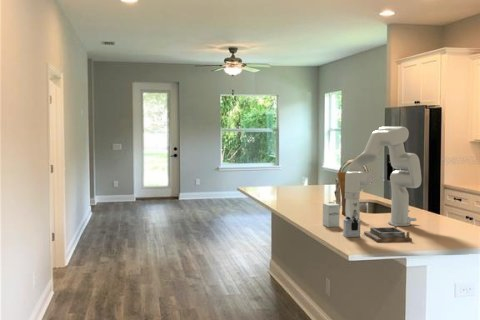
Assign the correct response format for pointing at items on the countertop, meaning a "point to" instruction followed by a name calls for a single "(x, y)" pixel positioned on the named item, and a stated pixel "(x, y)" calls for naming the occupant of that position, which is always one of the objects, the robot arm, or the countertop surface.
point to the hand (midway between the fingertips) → (351, 228)
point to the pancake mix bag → (342, 189)
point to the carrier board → (387, 234)
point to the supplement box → (331, 214)
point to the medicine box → (347, 229)
